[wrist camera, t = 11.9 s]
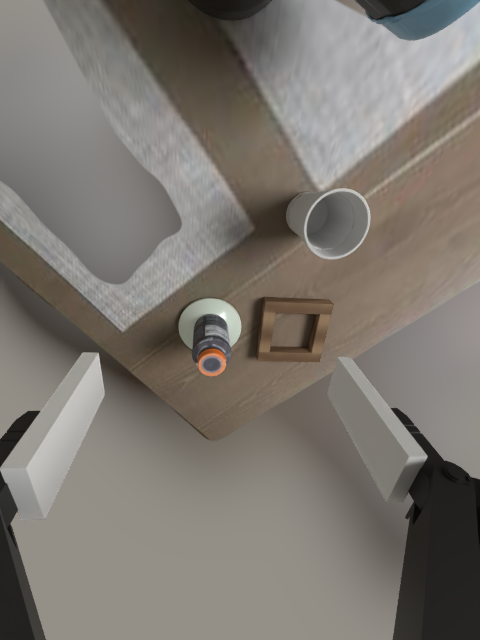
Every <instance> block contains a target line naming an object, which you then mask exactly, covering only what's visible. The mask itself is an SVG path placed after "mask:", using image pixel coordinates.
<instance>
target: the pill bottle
mask: <svg viewBox="0 0 480 640" xmlns="http://www.w3.org/2000/svg"><path fill="white" fill-rule="evenodd" d="M192 358H193V360H194V362H195V363H196V365H197V366H198V368H199V370H200V371H201V372H202V373H203V374H204V375H207V376H216V375H219V374H220V373H222V372H223V371H224V369H225V367H226V364H227V363H228V362H229V360H230V358H231V346H230V339H229V332H228V326H227V323H226V321H225V320H224V319H223V318H222V317H220V316H218V315H216V314H207V315H204V316H202V317H200V318H199V319H198V320H197V321H196V323H195V325H194V333H193V347H192Z"/></svg>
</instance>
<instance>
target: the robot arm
mask: <svg viewBox="0 0 480 640" xmlns="http://www.w3.org/2000/svg"><path fill="white" fill-rule="evenodd" d="M190 1H191V2H192V3H193V4H194V5H195V6H196V7H198V8H199V9H200V10H202V11H203V12H205V13H207V14H209V15H211V16H213V17H216V18H219V19H224V20H239V19H244V18H247V17H250V16H252V15H254V14H256V13H258V12H259V11H261V10H262V9H263V8H264V7H266V6H267V5H268V4H269V3H270V2H271V1H272V0H190ZM355 1H356V2H357V3H358V4H359V5H360V6H361V7H362V8H364V9H365V12H366V15H367V16H368V18H369V19H370V20H371V21H373V22H376V23H377V24H382V25H383V26H384V27H386V28H387V29H388V30H389V31H391V32H392V33H393V34H394V35H396V36H397V37H398V38H400V39H405V40H419V39H423V38H426V37H428V36H431V35H433V34H435V33H437V32H439V31H440V30H442V29H444V28H445V27H447V26H448V25H450V24H451V23H453V22H454V21H456V20H457V19H458V18H460V17H461V16H462V15H464V14H465V13H466V12H468V11H469V10H470V9H471V8H473V7H474V6H475V5H476V4H477V3H479V2H480V0H355ZM327 394H328V397H329V398H330V400H331V402H332V404H333V406H334V407H335V409H336V411H337V413H338V415H339V417H340V418H341V420H342V422H343V424H344V426H345V428H346V429H347V431H348V433H349V435H350V437H351V439H352V441H353V442H354V444H355V446H356V448H357V450H358V451H359V453H360V455H361V457H362V459H363V461H364V463H365V464H366V466H367V468H368V470H369V472H370V474H371V475H372V477H373V479H374V481H375V482H376V485H377V486H378V488H379V490H380V492H381V494H382V496H383V497H384V499H385V501H386V503H388V502H403V501H404V500H405V498H406V496H407V494H408V492H409V494H410V495H411V497H412V499H413V500H414V502H413V504H412V506H411V507H410V509H409V511H408V513H407V515H406V517H405V518H406V519H408V518H409V517H410V520H409V527H408V534H407V541H406V548H405V556H404V563H403V570H402V577H401V585H400V591H399V599H398V606H397V613H396V620H395V628H394V635H393V640H480V479H476V478H472V477H470V476H469V474H468V473H467V472H466V471H464V470H463V469H462V468H461V467H459V466H457V465H456V464H454V463H451V462H448V461H444V460H443V459H442V457H441V456H440V455H439V454H438V453H437V451H436V450H435V449H434V448H433V447H432V445H431V444H430V443H429V442H428V441H427V439H426V438H425V437H424V436H423V434H421V433H420V431H419V430H418V428H417V427H416V426H414V424H413V423H412V421H411V420H410V419H409V418H408V417H407V415H405V414H404V413H403V412H401V411H400V410H399V409H397V408H390V407H389V406H388V405H387V404H386V402H385V401H384V400H383V398H382V397H381V396H380V395H379V394H378V392H377V391H376V389H375V388H374V387H373V386H372V384H371V383H370V382H369V381H368V380H367V378H366V377H365V375H364V374H363V373H362V372H361V370H360V369H359V368H358V367H357V365H356V364H355V363H354V361H353V360H352V359H351V358H350V357H337V361H336V365H335V368H334V372H333V375H332V379H331V383H330V386H329V390H328V393H327ZM104 395H105V392H104V385H103V379H102V373H101V366H100V360H99V353H82V354H81V356H80V357H79V359H78V360H77V361H76V363H75V364H74V366H73V367H72V368H71V370H70V371H69V373H68V374H67V375H66V377H65V378H64V380H63V381H62V382H61V384H60V385H59V387H58V388H57V389H56V391H55V392H54V393H53V395H52V396H51V398H50V399H49V400H48V402H47V403H46V405H45V406H44V407H43V409H42V410H41V411H28V412H26V413H25V414H23V415H22V416H21V417H19V418H18V419H17V420H16V421H15V422H14V423H13V424H12V425H11V427H10V428H9V429H8V430H7V433H5V434H4V436H3V437H2V438H1V439H0V640H46V639H45V636H44V632H43V629H42V625H41V622H40V619H39V615H38V612H37V609H36V605H35V602H34V599H33V595H32V592H31V589H30V585H29V582H28V579H27V576H26V572H25V569H24V565H23V562H22V559H21V555H20V552H19V549H18V545H17V542H16V539H15V535H14V532H13V529H12V526H11V524H10V523H11V521H12V520H13V518H14V516H15V514H16V512H17V511H18V513H19V516H20V519H21V521H27V520H45V518H46V516H47V514H48V512H49V510H50V508H51V505H52V503H53V501H54V499H55V497H56V495H57V493H58V491H59V489H60V487H61V485H62V483H63V481H64V478H65V476H66V474H67V472H68V470H69V468H70V466H71V464H72V462H73V460H74V458H75V455H76V453H77V451H78V449H79V447H80V445H81V443H82V441H83V438H84V437H85V435H86V433H87V430H88V428H89V426H90V424H91V422H92V420H93V418H94V416H95V414H96V412H97V409H98V407H99V405H100V403H101V401H102V399H103V397H104Z"/></svg>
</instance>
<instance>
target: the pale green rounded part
mask: <svg viewBox="0 0 480 640" xmlns="http://www.w3.org/2000/svg"><path fill="white" fill-rule="evenodd" d="M207 314H216V315H218V316H220V317H222V318H223V319H224V320H225V321H226V323H227V326H228V332H229V339H230V346H231V347H232V346H233V345H234V344H235V343H236V341H237V340H238V338H239V336H240V333H241V321H240V317H239V314H238V312H237V311H236V309H235V308H234V307H233V306H232V305H231V304H229V303H228V302H226V301H224V300H222V299H218V298H212V297H209V298H202V299H198V300H196V301H194V302H192V303H191V304H189V305H188V306H187V307H186V308H185V309H184V311H183V312H182V314H181V317H180V320H179V334H180V336H181V339H182V340H183V342H184V343H185V344H186V345H187V346H188V347H189V348H190V349H192V347H193V333H194V325H195V323H196V321H197V320H198V319H199V318H200V317H202V316H204V315H207Z"/></svg>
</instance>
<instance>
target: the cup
mask: <svg viewBox="0 0 480 640" xmlns="http://www.w3.org/2000/svg"><path fill="white" fill-rule="evenodd" d="M286 220H287V223H288V226H289V227H290V229H291V230H292V231H293V232H295V233H296V234H297V235H298V236H299V237H300V238H301V239H302V240H303V241H304V243H305V244H306V245H307V246H308V247H309V249H310V250H311V251H312V252H313V253H314V254H316V255H317V256H319V257H321V258H325V259H338V258H342V257H345V256H347V255H349V254H350V253H352V252H353V251H354V250H356V249H357V248H358V247H359V246H360V244H361V243H362V242H363V240H364V239H365V237H366V235H367V232H368V229H369V225H370V211H369V207H368V204H367V202H366V201H365V199H364V198H363V197H362V196H361V195H360V194H359V193H357V192H356V191H353V190H351V189H346V188H339V189H332V190H326V191H320V192H303V193H300V194H298V195H297V196H296V197H294V198H293V199H292V201H291V202H290V204H289V206H288V208H287V212H286Z"/></svg>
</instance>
